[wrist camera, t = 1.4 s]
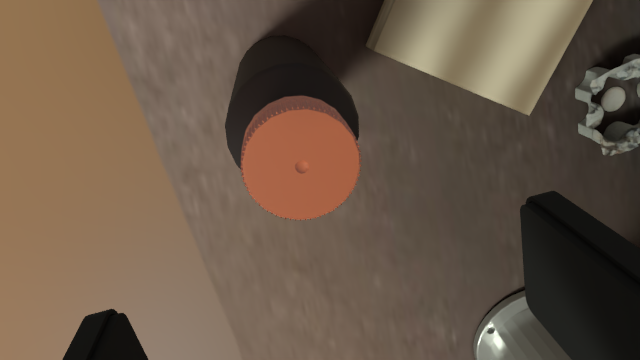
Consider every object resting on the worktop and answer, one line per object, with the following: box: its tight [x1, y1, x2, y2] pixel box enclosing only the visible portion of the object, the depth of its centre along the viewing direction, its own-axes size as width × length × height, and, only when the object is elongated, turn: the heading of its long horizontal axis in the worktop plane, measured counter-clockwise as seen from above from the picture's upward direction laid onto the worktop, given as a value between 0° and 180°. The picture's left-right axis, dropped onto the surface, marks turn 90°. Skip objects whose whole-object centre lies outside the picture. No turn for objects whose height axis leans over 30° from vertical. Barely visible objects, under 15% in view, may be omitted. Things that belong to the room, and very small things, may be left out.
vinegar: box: [225, 36, 361, 221], centre depth 28 cm, size 7×7×20 cm
